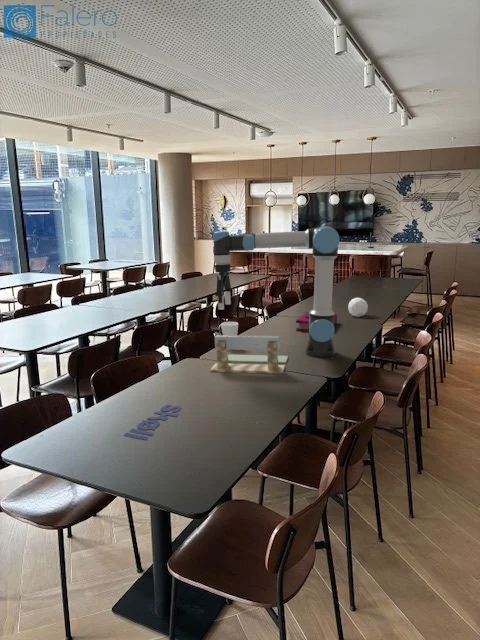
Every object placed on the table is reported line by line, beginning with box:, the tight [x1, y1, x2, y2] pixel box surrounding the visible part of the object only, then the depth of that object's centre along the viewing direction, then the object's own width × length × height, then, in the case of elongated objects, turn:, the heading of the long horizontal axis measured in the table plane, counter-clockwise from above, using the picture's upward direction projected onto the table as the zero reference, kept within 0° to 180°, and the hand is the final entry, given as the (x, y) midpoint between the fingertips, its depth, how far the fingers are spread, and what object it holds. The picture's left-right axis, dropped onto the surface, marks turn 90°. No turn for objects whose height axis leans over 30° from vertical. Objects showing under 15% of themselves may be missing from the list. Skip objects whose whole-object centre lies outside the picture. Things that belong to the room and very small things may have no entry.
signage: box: [123, 404, 182, 441], centre depth 170 cm, size 28×1×10 cm
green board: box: [228, 354, 289, 364], centre depth 239 cm, size 34×10×1 cm, turn 79°
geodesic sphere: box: [347, 297, 369, 318], centre depth 331 cm, size 14×14×14 cm
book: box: [295, 311, 338, 333], centre depth 304 cm, size 21×28×8 cm
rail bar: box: [214, 334, 280, 351], centre depth 221 cm, size 30×3×6 cm, turn 79°
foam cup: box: [220, 321, 239, 336], centre depth 264 cm, size 10×9×13 cm
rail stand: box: [209, 341, 286, 375], centre depth 222 cm, size 34×10×14 cm, turn 79°
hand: (224, 306), depth 234 cm, fingers open, 13 cm apart
